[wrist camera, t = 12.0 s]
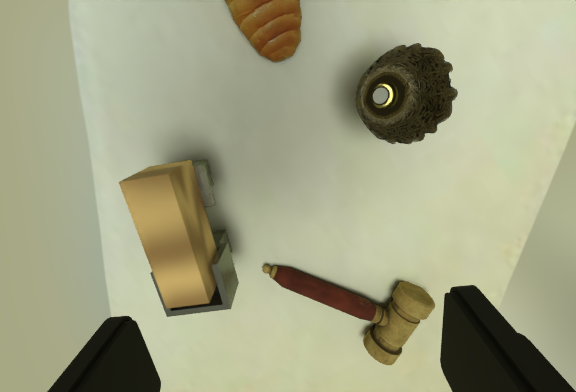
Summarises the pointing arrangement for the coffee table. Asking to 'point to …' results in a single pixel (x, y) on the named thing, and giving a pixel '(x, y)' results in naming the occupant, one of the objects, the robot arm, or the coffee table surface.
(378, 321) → the gavel
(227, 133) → the coffee table surface
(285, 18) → the pastry
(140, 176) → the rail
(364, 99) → the cup
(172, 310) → the cup bracket
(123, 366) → the robot arm
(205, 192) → the grey tabbed slab
